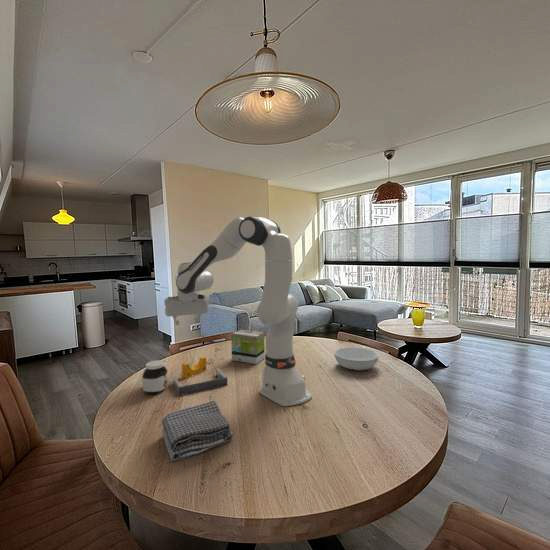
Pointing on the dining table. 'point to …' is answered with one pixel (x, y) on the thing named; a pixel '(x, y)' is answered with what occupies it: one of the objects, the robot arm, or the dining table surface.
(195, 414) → the towel
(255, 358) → the tea box
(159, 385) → the spread jar
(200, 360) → the pipe clamp
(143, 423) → the dining table surface
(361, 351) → the serving bowl
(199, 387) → the tray
